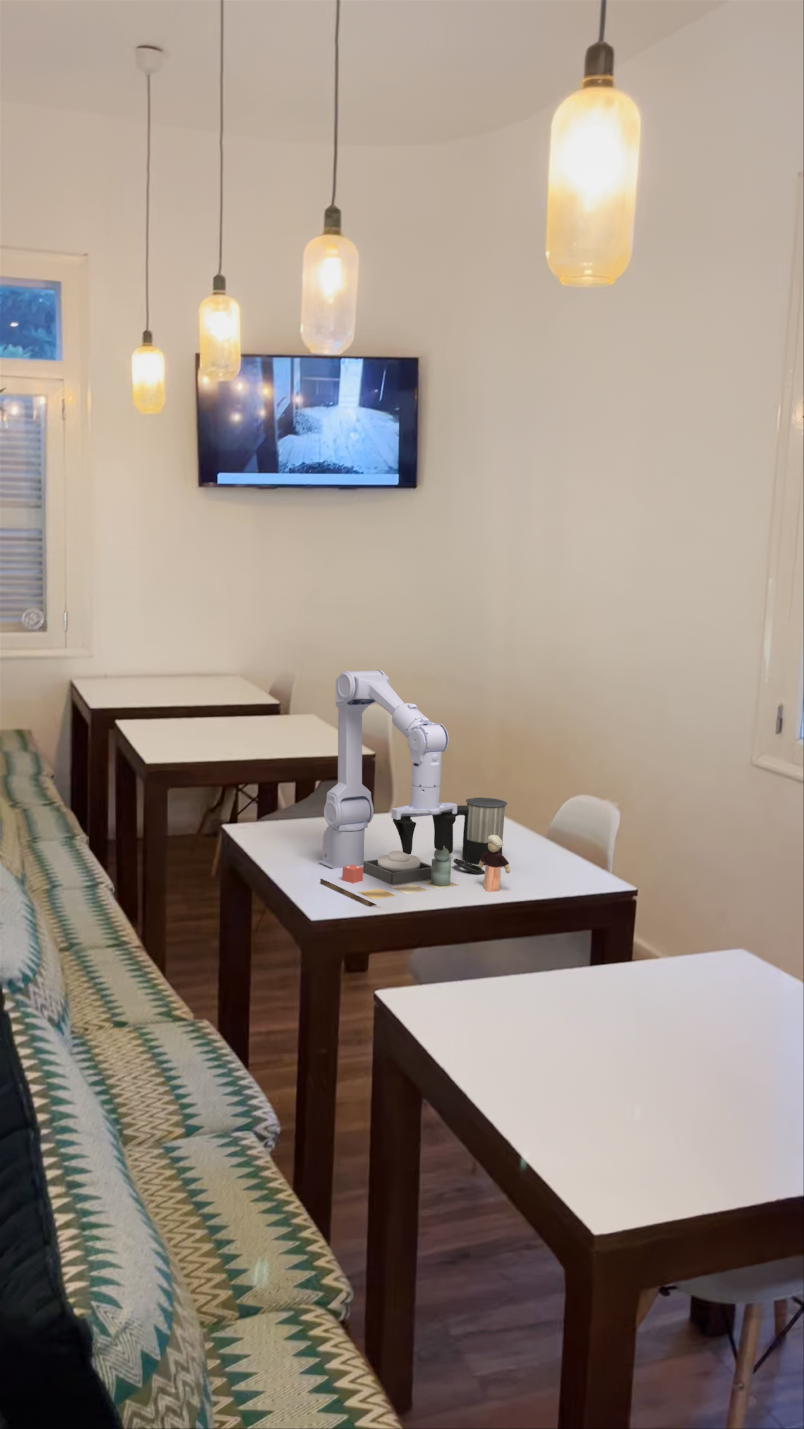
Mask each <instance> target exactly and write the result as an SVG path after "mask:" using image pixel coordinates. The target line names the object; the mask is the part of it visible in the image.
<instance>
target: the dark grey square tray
mask: <svg viewBox="0 0 804 1429" xmlns="http://www.w3.org/2000/svg"><path fill="white" fill-rule="evenodd" d="M362 867H363V874H365V875H367V876H371V877H373V878H374V879H377V880H378V881H380V882H384V883H386V884H389V885H392V886H397V885H403V884H410V883H414V882H419V881H421V882H423V881H429V880H431V868H432V864H431V865H430V864H427V863H426V862H424V861H421V860H420V869H417V870H410V871H403V872H390V871H387V870H385V869H382V868H380V867H378V858H376V859H370V860H364V861H363V865H362Z"/></svg>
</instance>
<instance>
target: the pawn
mask: <svg viewBox="0 0 804 1429" xmlns="http://www.w3.org/2000/svg"><path fill="white" fill-rule="evenodd" d="M433 857H434V858H432V859H431V866H432V868H431V879H430V881H431V884H432V885H435V886H449V885H450V882H451V872H452V871H451V870H452V859H450V854H449V851H448V850H447V849H446V848H445V847H443V850H438V849H435V850H434V852H433Z"/></svg>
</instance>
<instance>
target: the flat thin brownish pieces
mask: <svg viewBox="0 0 804 1429" xmlns="http://www.w3.org/2000/svg"><path fill="white" fill-rule="evenodd" d="M421 883H422V884H423V885H427V886H429V887H432V888H434V889H437V890H440V889H445V888H446V889H447V888H454V887H458V886H460V884H457V883H454V882H452V881H450V885H449V886H435V885H432V884H431V880H424V881H421ZM320 884H321V885H323V886H325V887H327V888H329V889H331V890H333V891H335V892H336V893H339V894H341V895H344V896H345V897H347V898H350V899H352V900H354V901H356V902H358V903H360V904H363V905H364V906H367V907H372V906H377V904H376V903H375V902H373V901H370V900H367V899H365V898H363V897H362V896H364V897H366V898H368V899H371V900H379V899H385V898H393V897H396V896H397V895H396V894H393V893H391V892H389V891H387V890H385V889H382V888H376V889H370V890H369V889H368V890H364V891H363V890H362V891H358V892H357V893H358V894H360V895H362V896H359V895H357V894H355V893H353V892H351V891H349V890H346V889H345V888H342V887H341V886H338V885H337V884H336V885H335V884H333V883H331V882H329V881H327V880H325V879H323V878H320ZM390 889H393V890H395V891H398V892H400V893H402V894H405V895H408V894H409V895H410V894H416V893H423V892H427V891H429V889H426V888H425V887H421V886H419V885H417V884H415V883H405V884H399V885H392V886H390Z"/></svg>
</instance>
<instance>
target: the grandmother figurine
mask: <svg viewBox="0 0 804 1429" xmlns="http://www.w3.org/2000/svg"><path fill="white" fill-rule="evenodd" d="M487 841H488V849H489V850H490V851H487V852H486V853H484V854H483V856H482V857H481V859H480V862H479V864H478V865H477V866H478V867H480V868H482V869H483V867H484V865H483V864H484V863H485V862H486V865H485V868H484V871H485V874H484V877H483V889H484V890H485V892H486V893H487V892H488V893H492V892H500V889H501V888H500V887H501V879H502V877H501V872H502V871H501V868H503V869H504V870H505V873H506V874H510V873H511V869H510V862H509V861H508V860H507V858H506V857H505V856H504V855H503V854H502V855H501V854H500V853H499V852H498V851H499V849H500V848H501V847H502V848H503V847H504V845H505V844H504V843H503V842H504V841H503V842H502V840H501V839H500V838H499V836H497V835H490V836H489V837H488V840H487ZM501 865H502V867H501Z"/></svg>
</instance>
